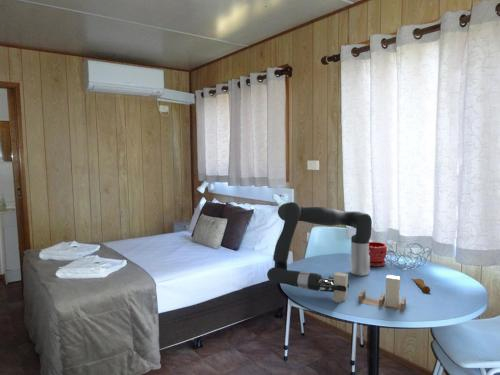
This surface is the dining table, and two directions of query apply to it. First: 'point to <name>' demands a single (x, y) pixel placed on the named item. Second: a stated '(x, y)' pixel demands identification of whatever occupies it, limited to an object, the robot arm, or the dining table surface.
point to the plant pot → (377, 253)
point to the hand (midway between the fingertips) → (347, 287)
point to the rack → (379, 301)
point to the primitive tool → (422, 285)
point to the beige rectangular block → (343, 281)
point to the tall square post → (392, 291)
